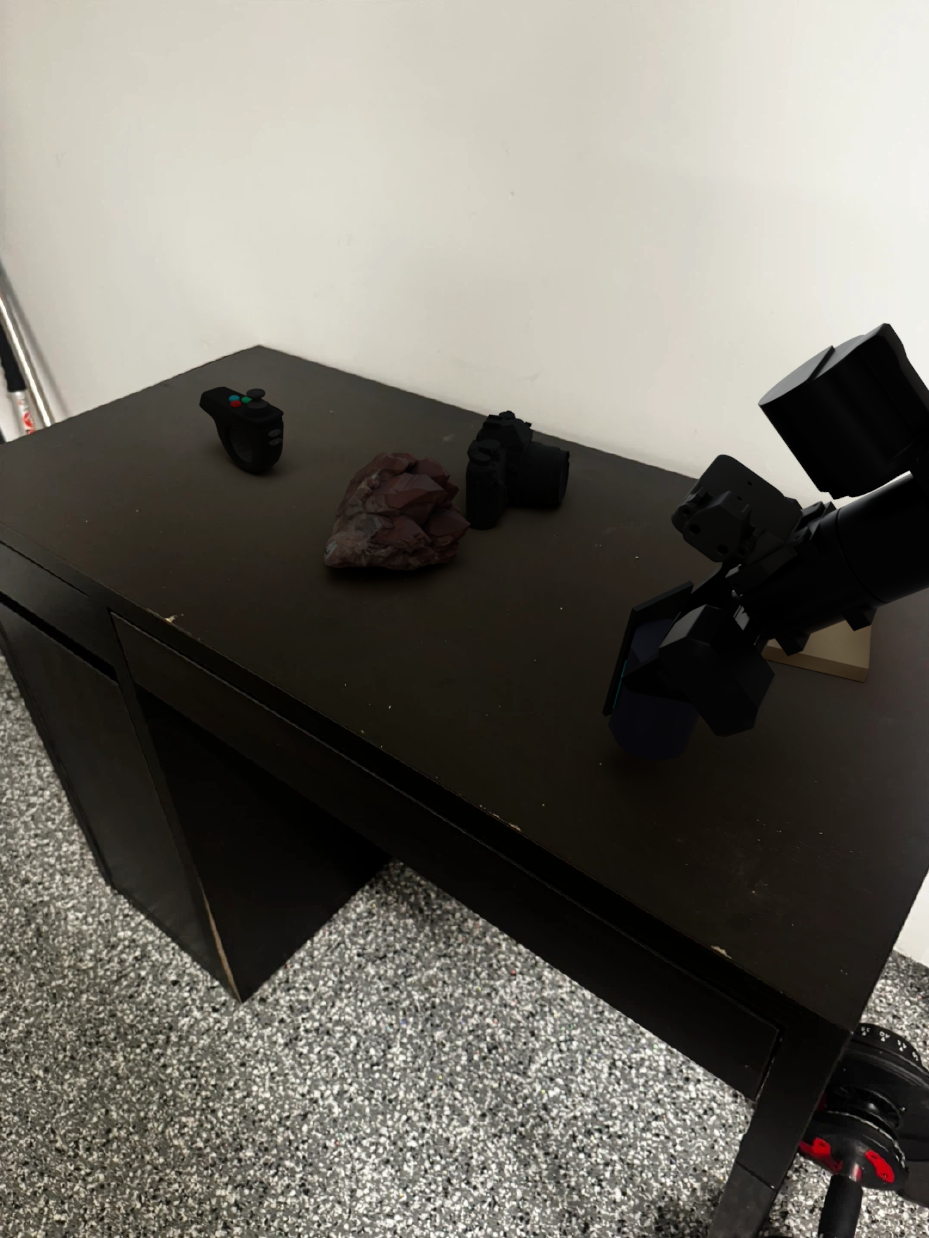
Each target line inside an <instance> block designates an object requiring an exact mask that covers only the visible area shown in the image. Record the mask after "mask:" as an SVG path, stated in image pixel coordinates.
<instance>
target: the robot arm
mask: <svg viewBox="0 0 929 1238" xmlns="http://www.w3.org/2000/svg"><path fill="white" fill-rule="evenodd" d="M757 406H758V407H759V408H760V410H761V411H762V413H763V414H764V415H765V417H766V418H767V420H768V421H769V422H770V424H771V426H772V427H773V428H774V430H775V432H777V434H778V435H779V437H780V438H781V440H782V441H783V443H784V444H785V445H786V447H787V449H788V450H789V451H790V453H791V454H792V455H793V457H794V458H795V460H796V461H797V462H798V464H799V465H800V467H801V468H802V470H803V471H804V472H805V473H806V475H807V477H808V478H809V480H810V481H811V482H812V484H813V485H814V486H815V488H816V489H817V491H818V492H819V493H826V494H827V493H828V494H829V496H830V497H831V498H832V500H833V501H836V500H837V501H838V500H841V499H843V498H846V497H848V498H852V499H853V498H857V499H855V500H854V501H852V502H849V503H848V504H845V505H843V506H840V507H839V508H837V507H836V506H835V504H834V503H833V501H832V500H830V501H828V502H826V503H824V502H823V501H822V500H820V501H819V500H818V501H816V502H814V503H812V504H810V505H808V506H806V507H804V508H803V507H802V505H801V504H800V502H799V501H798V499H797V498H794V497H789V496H785V495H784V493H782V491H781V490H780V489H778V488H777V487H776V486H775V485H773V484H772V483H770V482H769V481H768V480H766V479H765V478H763V477H762V476H760V475H759V474H757V473H756V472H755V471H754V470H752V469H751V468H749V467H748V466H747V465H745V464H743V463H742V462H741V461H740V460H738V459H736V458H735V457H733V456H731V455H729V454H723V453H721V454H718V455H717V456H716V457H715V458H714V459H713V461H712V462H711V463H710V464H709V465H708V467H707V468H706V469H705V471H704V472H703V473H702V474H701V475H700V477H699V478H698V479H697V480H696V482H695V483H694V485H692V487H691V489H690V490H689V491H688V492H687V494H686V495H685V496H684V497H683V499H682V500H681V502H680V503H679V504H678V506H677V507H676V508H675V509H674V510H673V512H672V513H671V515H670V521H671V523H672V525H673V528H675V529H676V530H677V531H678V532H679V533H680V534H682V538H683V541H684V542H686V543H687V544H688V545H689V546H691V547H692V548H694V549H695V550H696V551H698V552H699V553H701V554H702V555H703V556H705V557H706V558H707V559H709V560H710V561H711V562H713V563H715V564H716V563H720V565H719V566H718V567H717V568H716V569H714V571H712V572H711V573H710V574H709V575H708V576H707V577H705V579H703V580H702V581H701V582H700V583H698V584H697V585H695V587H693V589H692V592H691V595H690V598H689V601H688V603H687V605H686V607H685V610H684V612H683V614H682V613H681V612H680V613H679V614H678V616H677V617H676V619H675V620H674V622H673V623H672V625H671V626H670V628H669V629H668V631H667V632H666V634H665V635H664V638H663V642H662V644H661V645H660V647H659V648H658V652H656V653H655V654H653V655H652V656H650V657H649V658H647V659H646V660H644V661H643V662H641V663H640V664H638V665H637V666H636V667H634V668H633V669H631V670H630V671H629V672H627V673H626V674H625V675H623V677H622V678H621V682H622V683H623V684H624V686H625V687H626V688H627V690H628V691H630V692H632V693H638V694H643V695H649V696H654V697H660V698H666V699H671V700H676V701H681V702H686V703H690V704H692V705H693V706H694V707H695V709H696V710H697V711H698V713H699V714H700V715H699V716H700V717H701V718H702V720H703V721H704V722H705V723H706V725H707V726H708V727H709V729H710V730H711V732H713V735H715V736H716V737H721V738H728V737H731V736H734V735H737V734H741V733H744V732H746V731H749V730H753V729H754V728H755V727H756V724H757V722H758V720H759V718H760V717H761V713H762V711H763V709H764V708H765V706H766V703H767V701H768V699H769V697H770V694H771V692H772V689H773V685H774V681H775V677H776V673H775V671H774V670H773V669H772V667H771V665H770V664H769V663H768V662H767V661H766V660H767V659H764V658H763V656H762V653H763V652H764V650H765V648H766V646H767V644H768V642H769V640H772V639H775V640H776V641H777V642H778V644H779V645H780V646H781V648H782V649H783V651H784V652H785V653H786V655H787V656H791V655H793V654H796V653H799V652H801V651H803V650H804V648H805V646H806V644H807V641H808V639H809V637H810V635H811V634H812V633H814V632H817V631H819V630H822V629H824V628H827V627H829V626H832V625H835V624H837V623H840V622H842V621H845V620H846V621H847V623H848V624H849V626H850V627H851V628H852V630H853V631H857V630H859V629H862V628H865V627H867V626H870V625H871V624H873V622H874V618H875V616H876V613H877V611H878V609H879V608H881V607H883V606H886V605H888V604H890V603H892V602H895V601H898V600H901V599H903V598H906V597H909V596H911V595H913V594H916V593H919V592H921V591H924V590H926V589H929V388H928V386H927V385H926V384H925V382H924V381H923V379H922V377H921V376H920V375H919V373H918V372H917V370H916V369H915V367H914V366H913V364H912V363H911V361H910V359H909V357H908V355H907V351H906V348H905V346H904V342H903V341H902V340H901V338H900V337H899V335H898V333H897V332H896V331H895V328H894V327H893V326H892V324H891V323H887V322H882V323H881V324H880V325H877V327H875V328H873V329H872V330H870V331H869V332H867V333H865V334H859V335H856V336H854V337H851V338H850V339H847V340H846V341H843V342H842V343H840V344H839V345H837V346H834V345H833V344H832V345H829V346H828V347H826V348H824V349H823V350H821V351H819V352H818V353H817V354H815V355H814V356H812V357H810V358H809V359H808V360H806V361H805V362H804V363H802V364H801V365H799V366H798V367H796V368H795V369H794V370H792V371H791V372H790V373H789V374H787V375H786V376H784V377H783V378H782V379H781V380H780V381H778V382H777V383H776V384H775V385H774V386H772V387H771V388H770V389H769V390H768V391H767V392H766V393H765V394H764V395H763V396H762V397H761V398H760V399H759V401H758V402H757ZM908 472H909V473H908ZM906 473H908V474H906ZM904 474H906V475H904ZM902 475H904V476H902ZM900 476H902V477H900ZM899 477H900V478H899ZM895 479H896V480H895ZM859 497H860V498H859Z"/></svg>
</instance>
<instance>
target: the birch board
mask: <svg viewBox="0 0 929 1238" xmlns="http://www.w3.org/2000/svg"><path fill="white" fill-rule="evenodd" d="M872 624H873V623H872ZM872 624H871V625H870V626H867V627H865V628H862V629H859V630H857V631H853V630H852V628H851V627H850V626H849V624H848V623H847V621H846V620H845V621H842V622H840V623H837V624H835V625H832V626H829V627H827V628H824V629H822V630H819V631H817V632H814V633H812V634H811V635H810V637H809V639H808V641H807V644H806V646H805V648H804V650H803V651H801V652H799V653H796V654H793V655H791V656H787V655H786V653H785V652H784V651H783V649H782V648H781V646H780V645H779V644H778V642H777V641H776V640H775V639H772V640H769V642H768V644H767V646H766V648H765V650H764V652H763V653H762V656H763V658H764V659H765V660H768V661H772V662H776V663H779V664H784V665H787V666H793V667H797V668H801V669H806V670H810V671H814V672H818V673H823V674H827V675H831V676H836V677H841V678H844V679H848V680H853V681H856V682H861V683H865V681H866V678H867V675H868V673H869V670H870V656H871V641H872V626H873V625H872Z"/></svg>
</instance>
